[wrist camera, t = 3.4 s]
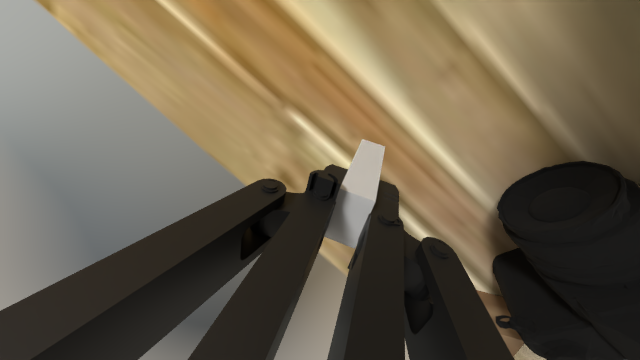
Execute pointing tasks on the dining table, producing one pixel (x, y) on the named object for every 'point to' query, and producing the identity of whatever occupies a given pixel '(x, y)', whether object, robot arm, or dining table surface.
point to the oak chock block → (498, 308)
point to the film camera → (573, 262)
